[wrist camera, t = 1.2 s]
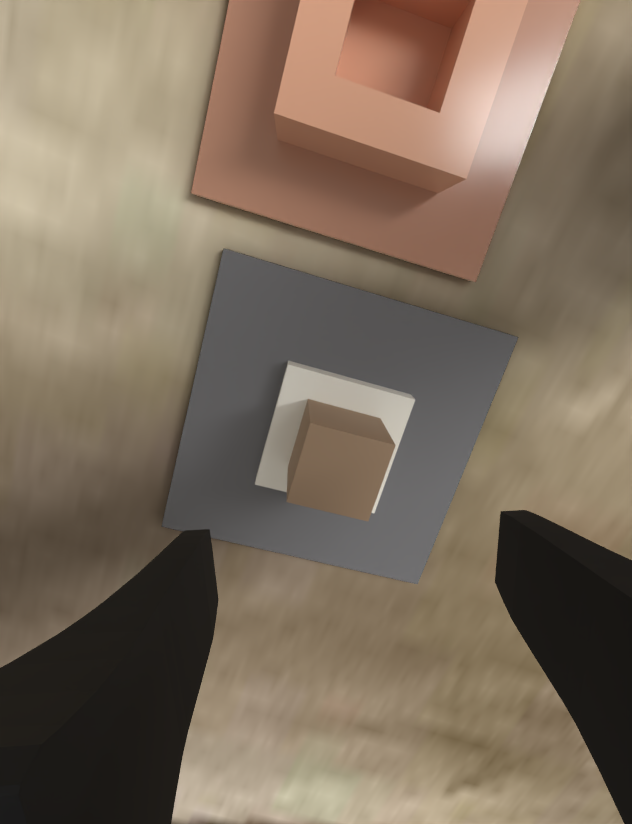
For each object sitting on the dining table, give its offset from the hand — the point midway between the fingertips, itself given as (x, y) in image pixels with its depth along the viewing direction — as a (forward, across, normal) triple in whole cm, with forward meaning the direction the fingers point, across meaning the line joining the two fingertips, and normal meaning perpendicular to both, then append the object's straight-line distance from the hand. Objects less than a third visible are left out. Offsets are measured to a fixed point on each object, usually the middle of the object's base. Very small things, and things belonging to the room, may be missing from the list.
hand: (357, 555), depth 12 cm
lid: (+9, 0, 0) cm, 9 cm away
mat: (+9, 0, 0) cm, 9 cm away
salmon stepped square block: (+9, -2, -13) cm, 16 cm away
